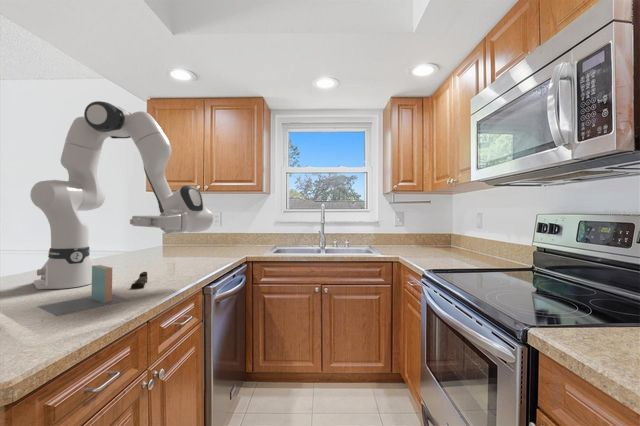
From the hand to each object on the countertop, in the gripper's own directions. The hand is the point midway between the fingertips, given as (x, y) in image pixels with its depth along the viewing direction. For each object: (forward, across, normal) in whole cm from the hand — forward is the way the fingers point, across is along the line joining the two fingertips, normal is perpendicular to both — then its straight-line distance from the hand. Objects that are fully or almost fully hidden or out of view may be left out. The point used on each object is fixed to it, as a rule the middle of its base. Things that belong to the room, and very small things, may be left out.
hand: (132, 221), depth 101 cm
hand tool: (-10, -14, +26) cm, 31 cm away
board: (+12, -1, +25) cm, 28 cm away
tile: (+8, -1, +24) cm, 25 cm away
